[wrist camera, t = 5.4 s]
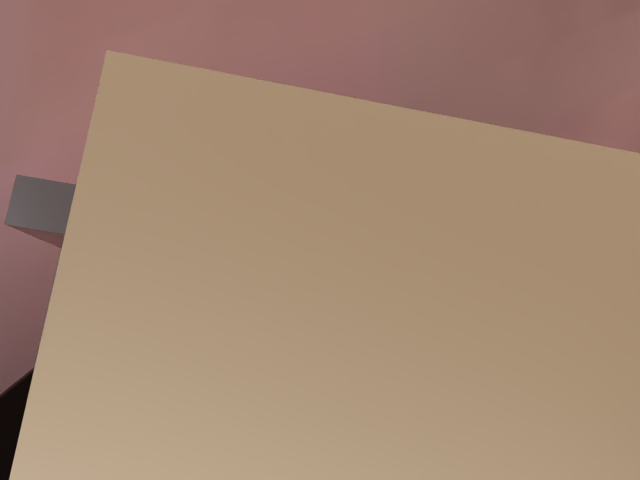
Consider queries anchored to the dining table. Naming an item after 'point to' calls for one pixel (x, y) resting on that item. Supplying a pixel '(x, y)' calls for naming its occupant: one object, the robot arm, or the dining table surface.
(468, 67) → the dining table surface
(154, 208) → the birch board
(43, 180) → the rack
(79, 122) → the dining table surface
